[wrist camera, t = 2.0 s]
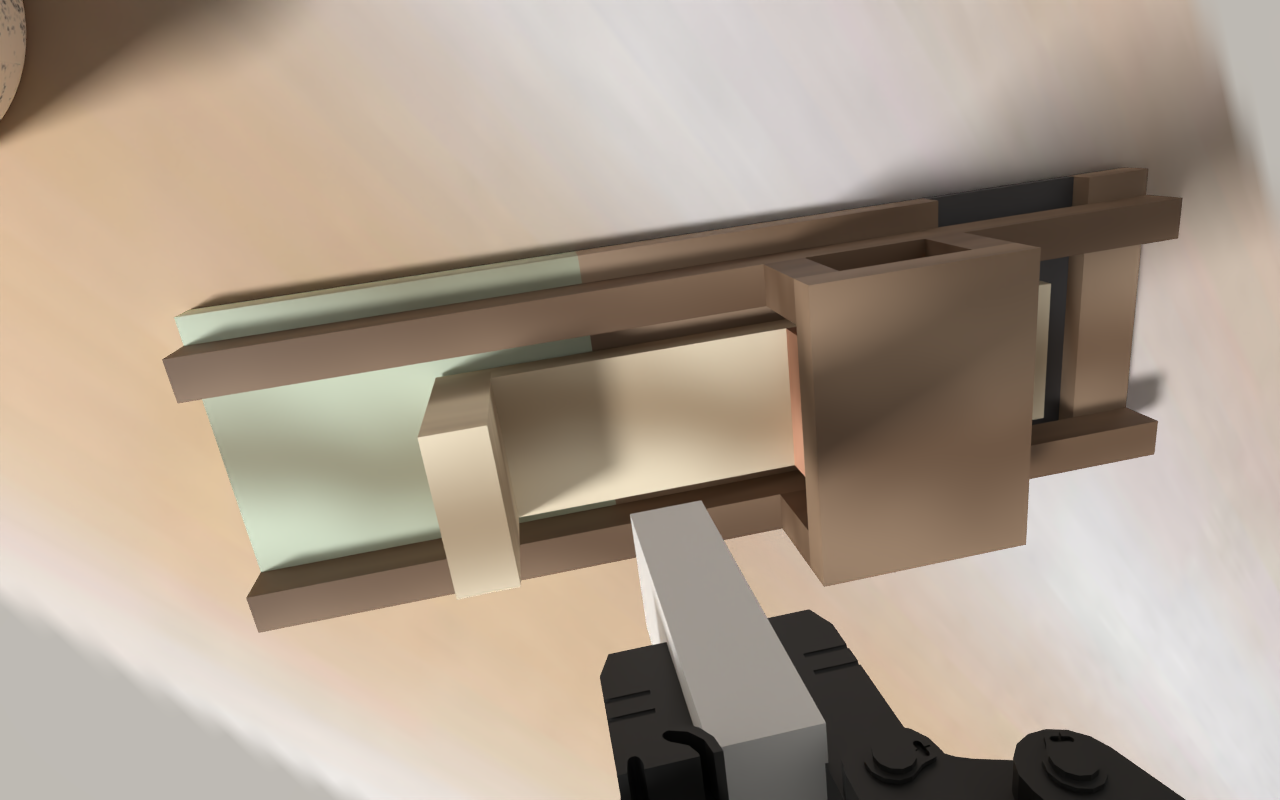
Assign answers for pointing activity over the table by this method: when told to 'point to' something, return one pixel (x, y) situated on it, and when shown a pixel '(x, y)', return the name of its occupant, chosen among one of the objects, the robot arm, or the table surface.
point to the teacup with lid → (11, 50)
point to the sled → (613, 432)
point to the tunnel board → (685, 305)
